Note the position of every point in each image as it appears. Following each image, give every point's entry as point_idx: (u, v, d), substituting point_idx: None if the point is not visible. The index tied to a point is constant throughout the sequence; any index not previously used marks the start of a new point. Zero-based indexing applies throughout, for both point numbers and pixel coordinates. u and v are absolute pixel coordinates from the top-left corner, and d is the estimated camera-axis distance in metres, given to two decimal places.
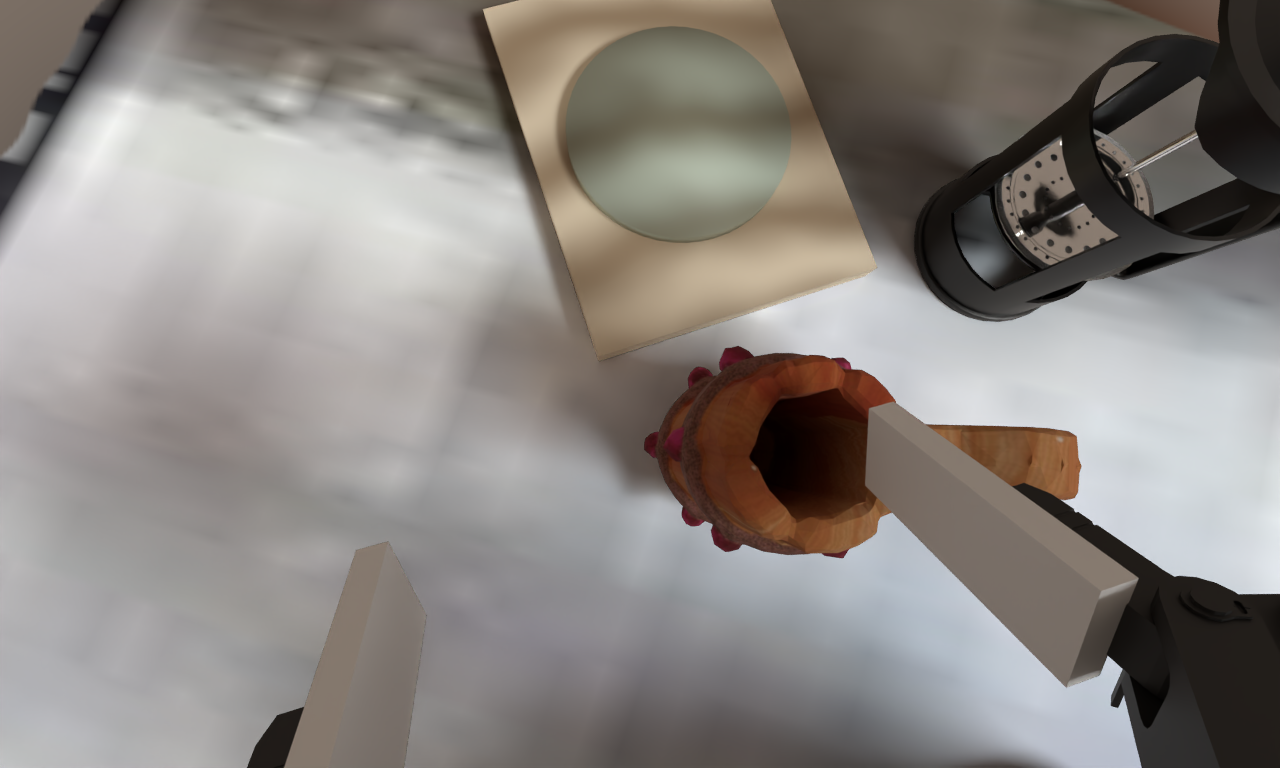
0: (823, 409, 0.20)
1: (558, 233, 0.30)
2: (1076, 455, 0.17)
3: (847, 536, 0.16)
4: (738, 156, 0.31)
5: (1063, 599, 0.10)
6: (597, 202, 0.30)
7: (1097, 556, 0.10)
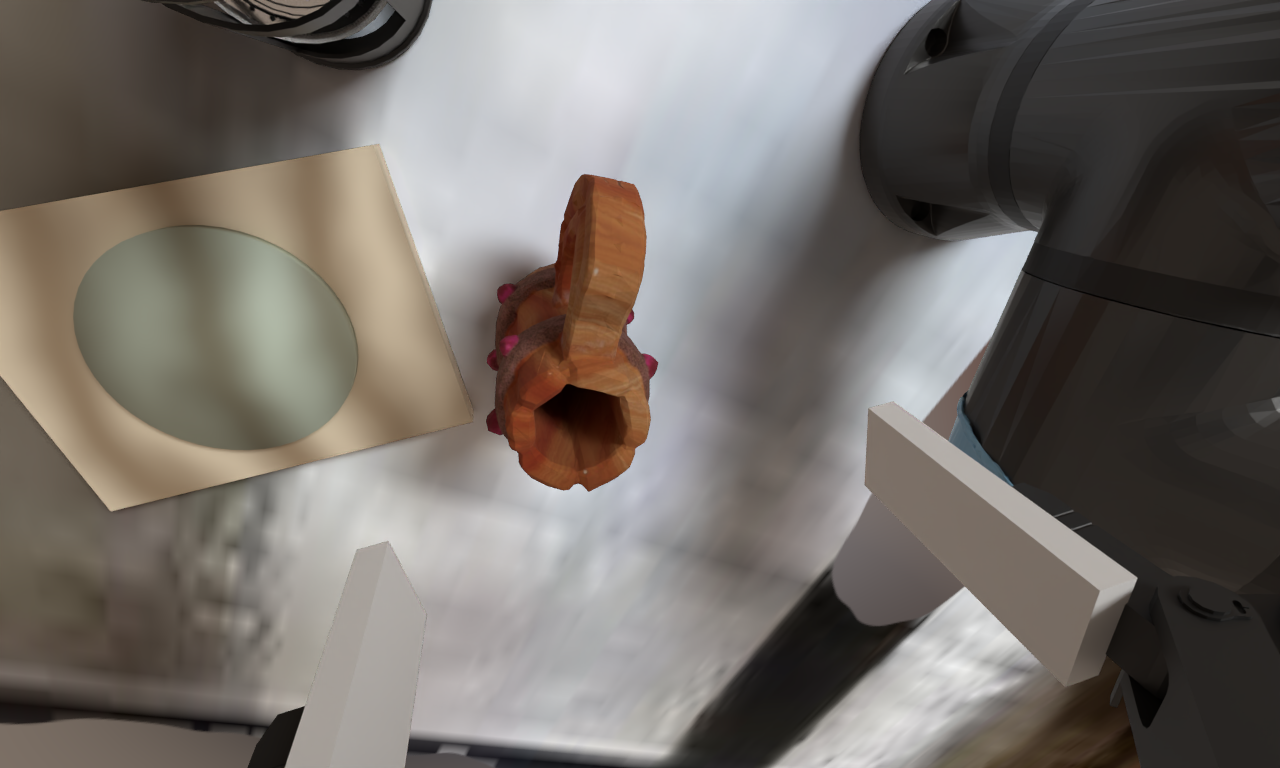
0: None
1: (356, 449, 0.35)
2: (611, 249, 0.19)
3: (641, 419, 0.23)
4: (249, 292, 0.29)
5: (1062, 599, 0.10)
6: None
7: (1096, 556, 0.10)
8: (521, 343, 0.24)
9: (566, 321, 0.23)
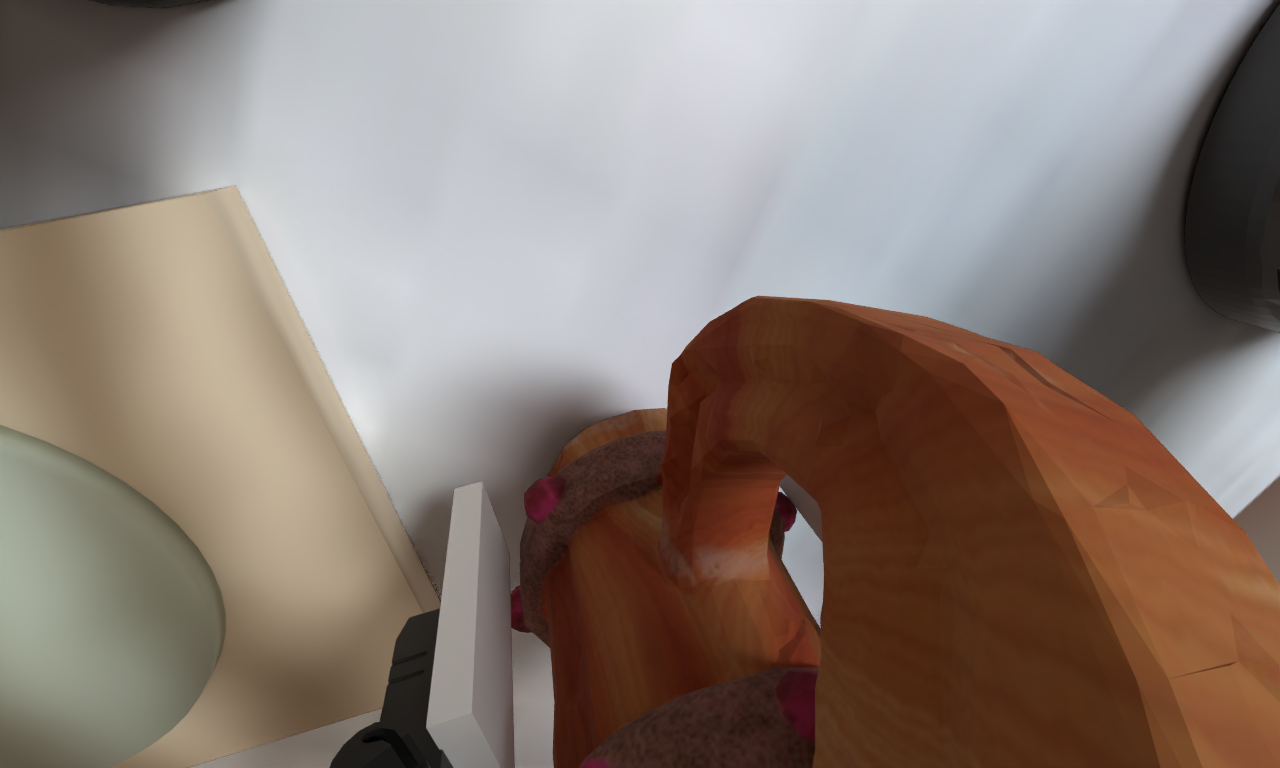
0: None
1: (241, 749, 0.18)
2: None
3: None
4: None
5: None
6: None
7: None
8: None
9: None
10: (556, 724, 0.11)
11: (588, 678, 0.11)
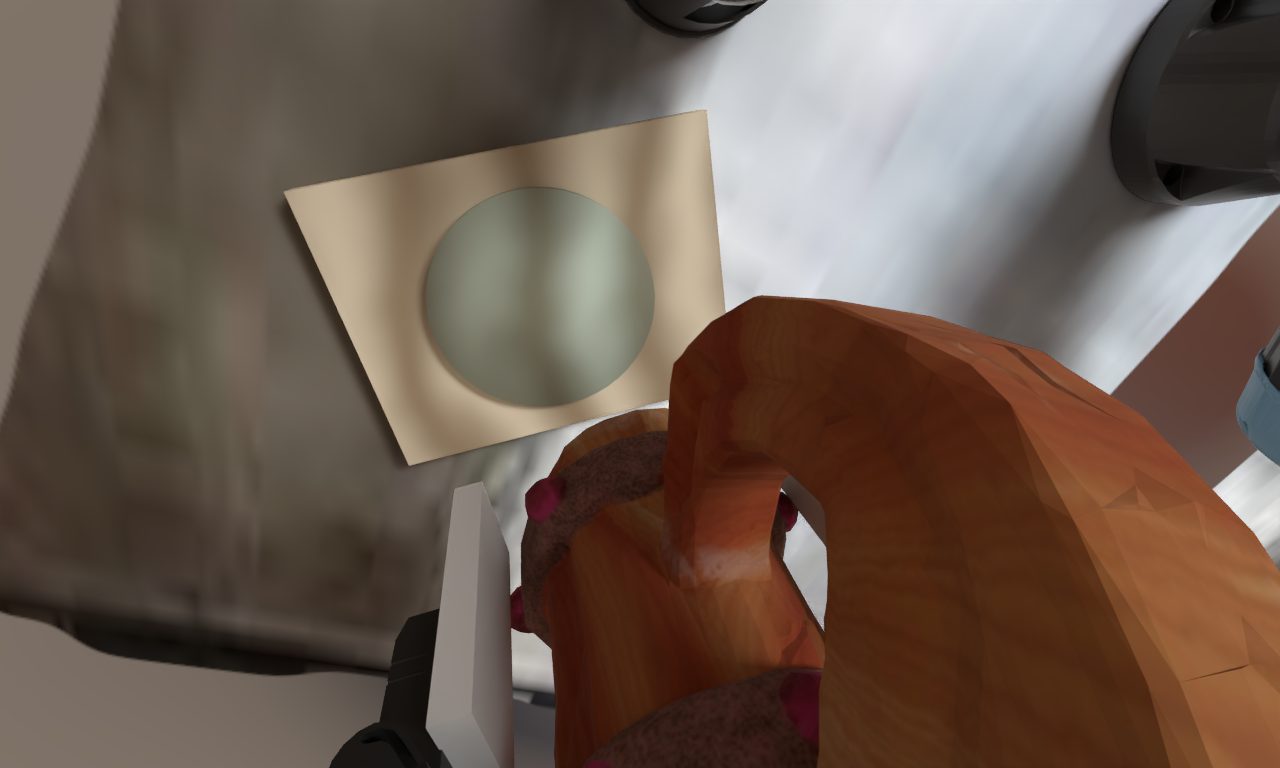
0: None
1: (628, 408, 0.36)
2: None
3: None
4: (578, 252, 0.30)
5: None
6: None
7: None
8: None
9: None
10: (557, 725, 0.11)
11: (589, 679, 0.11)
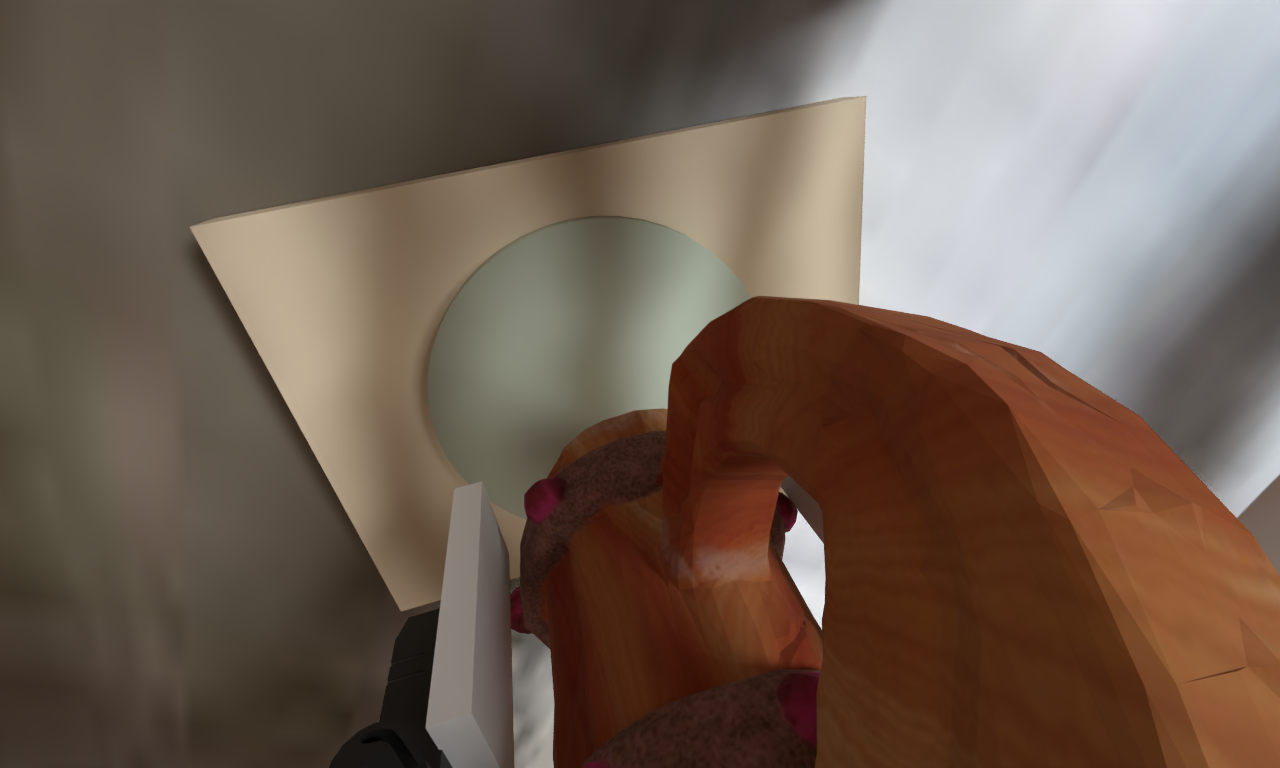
0: None
1: None
2: None
3: None
4: (662, 314, 0.20)
5: None
6: None
7: None
8: None
9: None
10: (556, 726, 0.11)
11: (588, 680, 0.11)
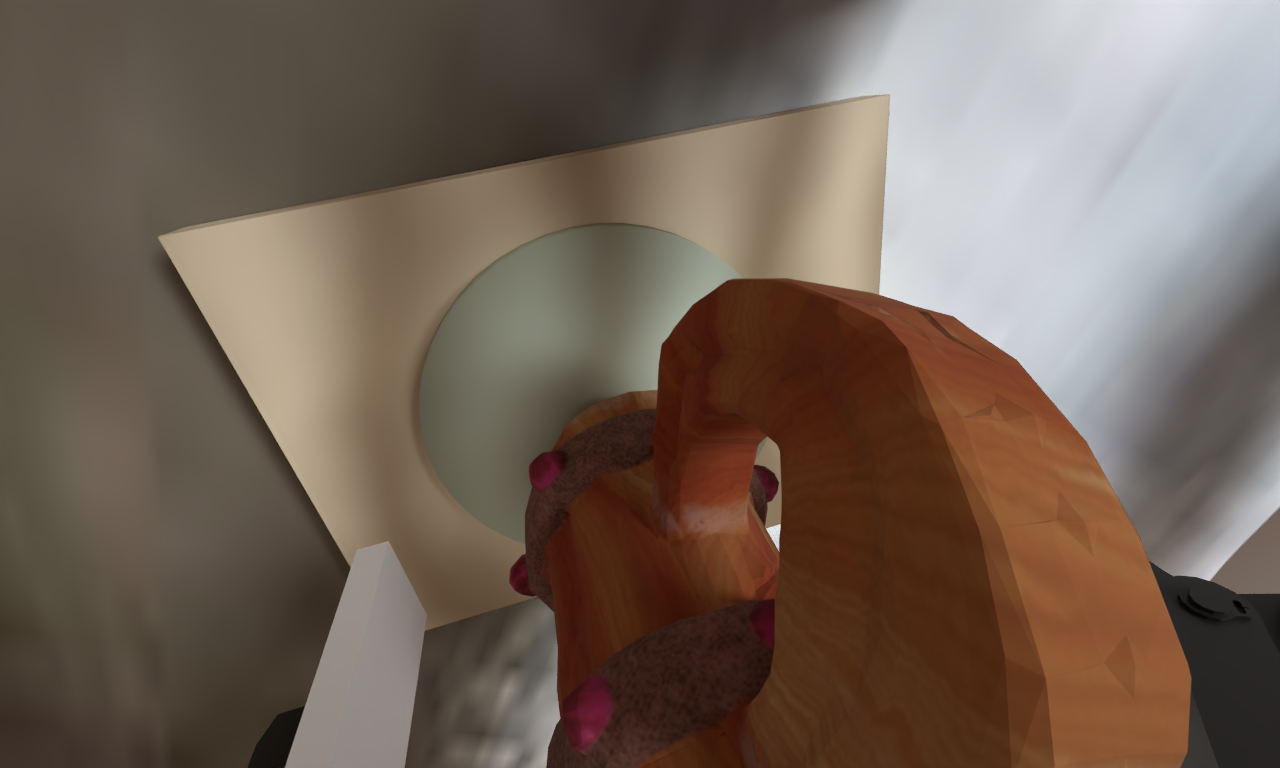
0: None
1: None
2: (1101, 690, 0.05)
3: None
4: (671, 328, 0.18)
5: None
6: None
7: None
8: (623, 727, 0.09)
9: (768, 718, 0.08)
10: (560, 663, 0.13)
11: (588, 620, 0.12)
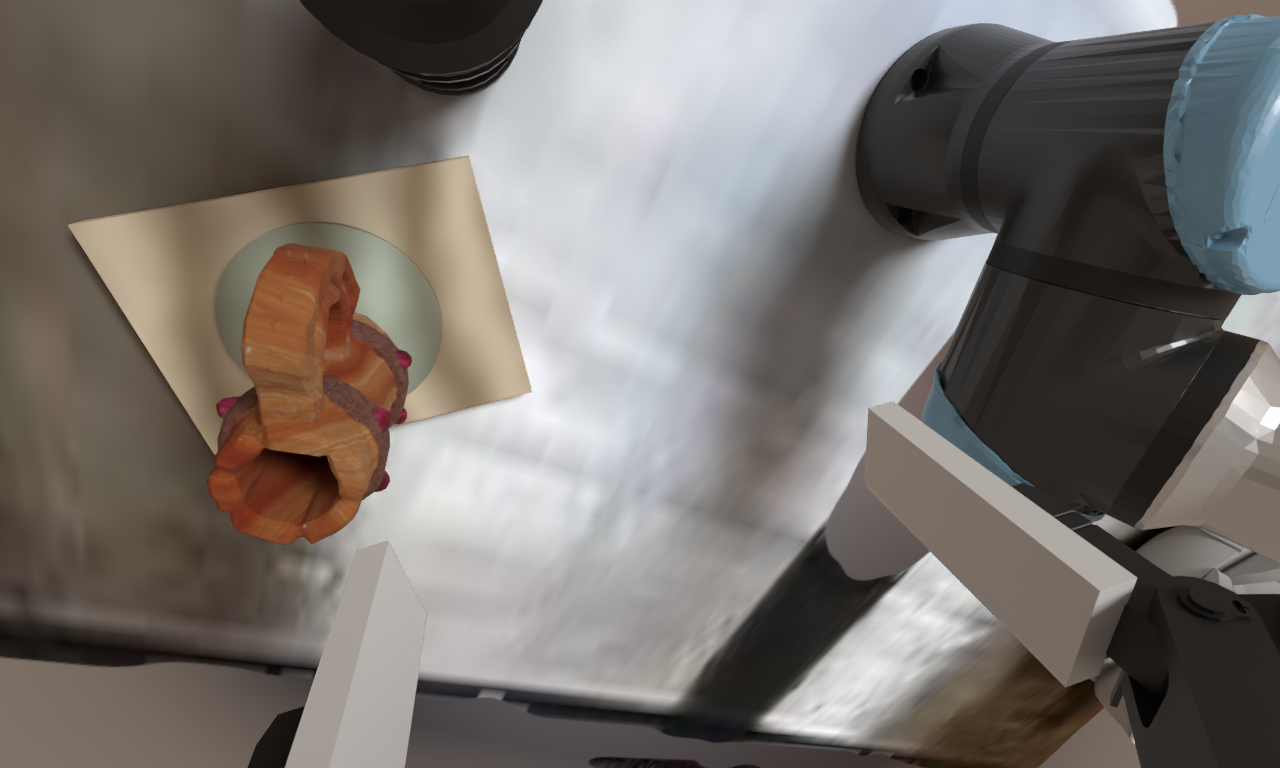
0: None
1: (433, 415, 0.40)
2: (264, 327, 0.20)
3: (350, 476, 0.25)
4: (360, 278, 0.34)
5: (1061, 599, 0.10)
6: None
7: (1095, 556, 0.10)
8: (234, 405, 0.25)
9: None
10: None
11: None
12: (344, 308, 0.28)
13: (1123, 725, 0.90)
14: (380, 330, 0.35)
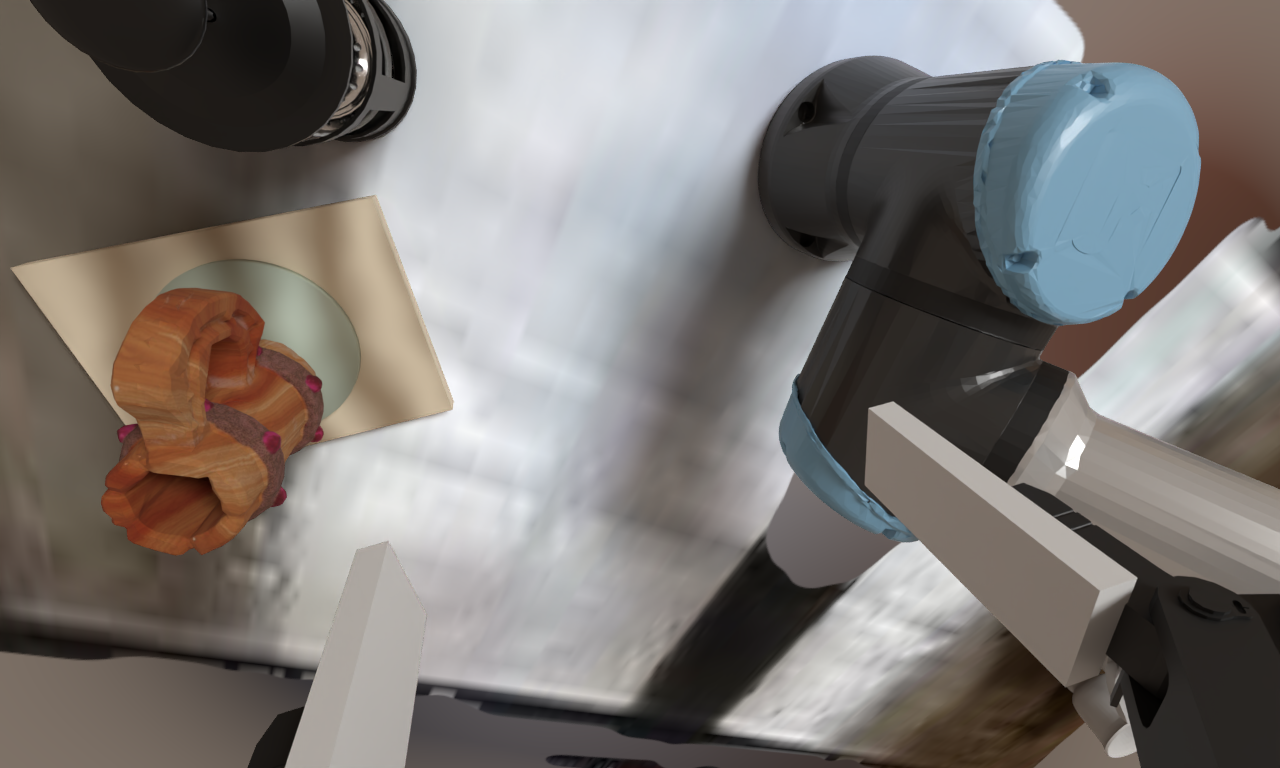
0: None
1: (360, 431, 0.43)
2: (130, 369, 0.24)
3: (230, 495, 0.28)
4: (277, 309, 0.37)
5: (1062, 599, 0.10)
6: (333, 411, 0.42)
7: (1096, 556, 0.10)
8: (131, 432, 0.28)
9: None
10: None
11: None
12: (240, 342, 0.31)
13: (1099, 737, 0.89)
14: (296, 356, 0.38)
